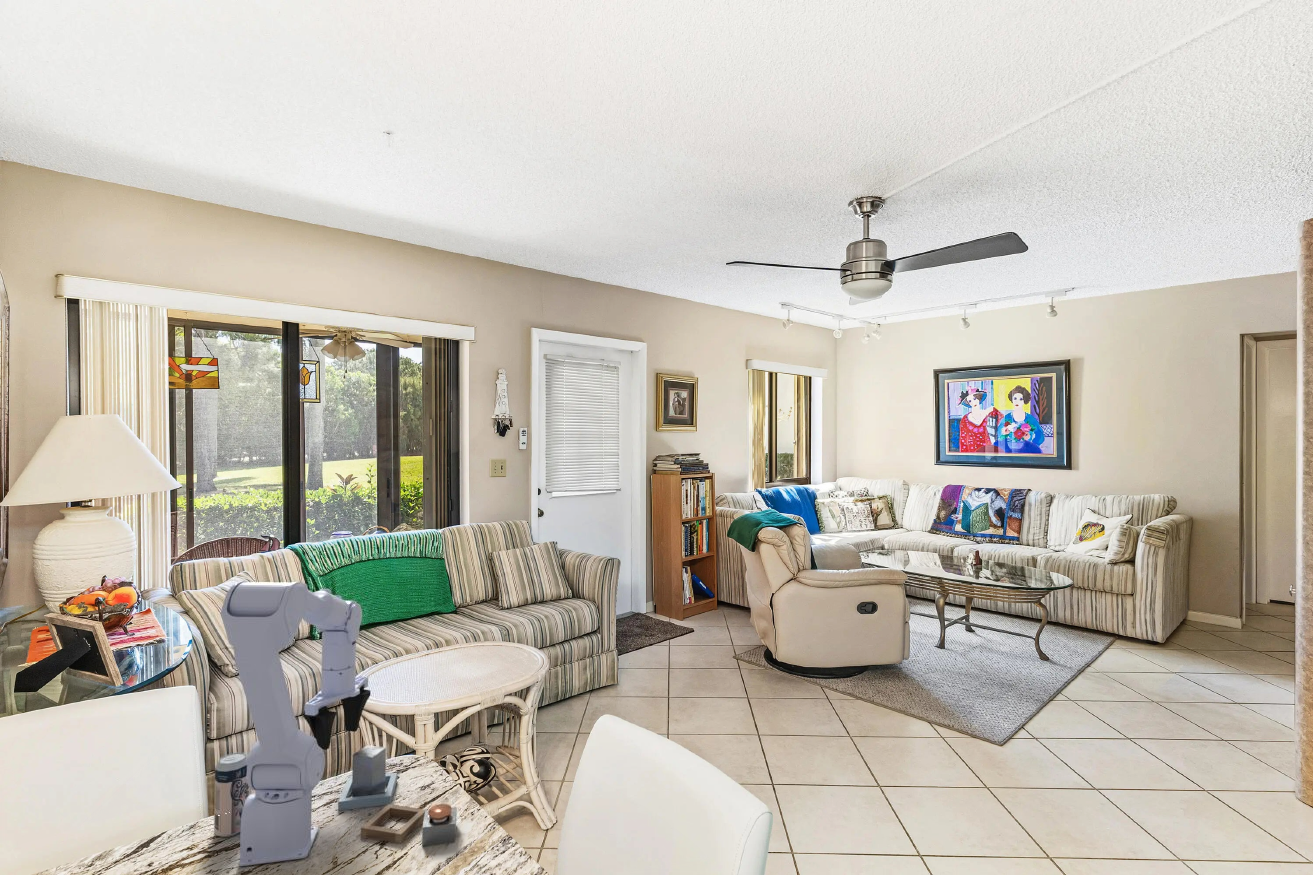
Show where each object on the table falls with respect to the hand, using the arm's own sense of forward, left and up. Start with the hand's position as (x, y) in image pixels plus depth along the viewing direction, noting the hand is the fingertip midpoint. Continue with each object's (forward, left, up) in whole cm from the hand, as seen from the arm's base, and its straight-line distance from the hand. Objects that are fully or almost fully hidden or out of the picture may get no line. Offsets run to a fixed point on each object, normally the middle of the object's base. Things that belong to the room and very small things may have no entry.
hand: (337, 739), depth 123 cm
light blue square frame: (+6, -3, -9) cm, 12 cm away
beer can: (-14, -10, -10) cm, 20 cm away
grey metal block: (+6, -3, -9) cm, 12 cm away
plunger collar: (+20, -19, -9) cm, 29 cm away
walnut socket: (+12, -15, -9) cm, 21 cm away
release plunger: (+20, -19, -9) cm, 29 cm away
